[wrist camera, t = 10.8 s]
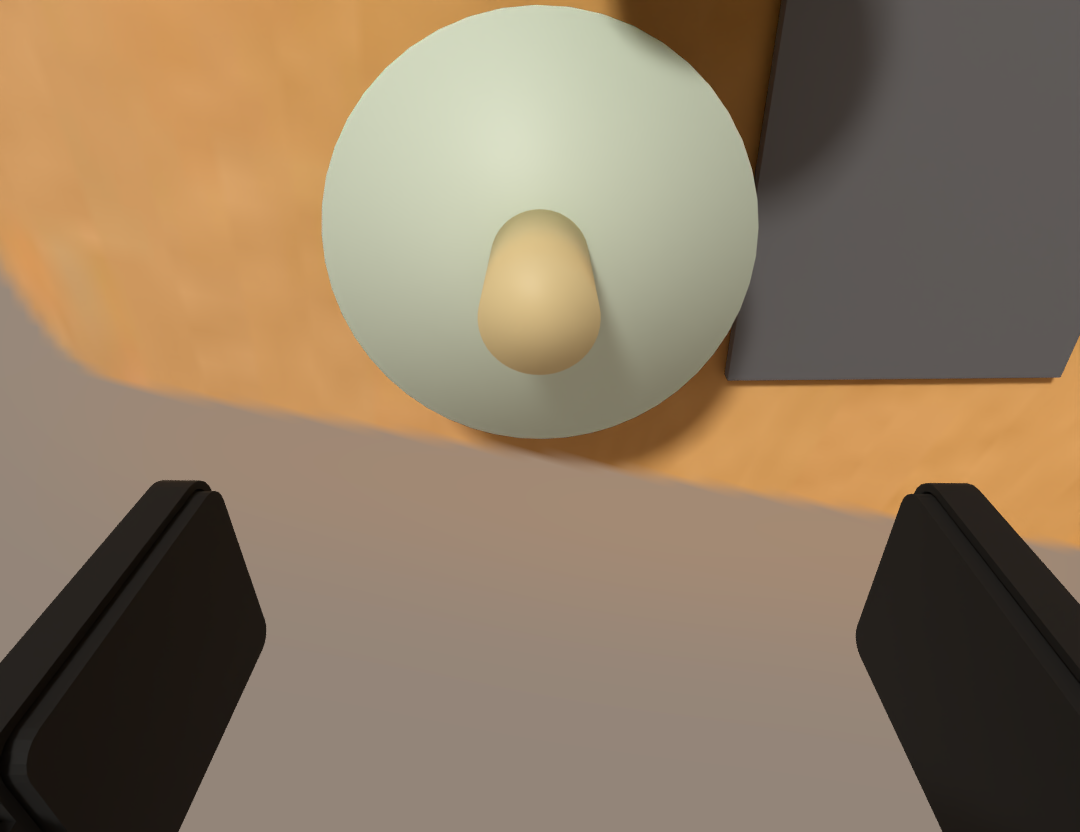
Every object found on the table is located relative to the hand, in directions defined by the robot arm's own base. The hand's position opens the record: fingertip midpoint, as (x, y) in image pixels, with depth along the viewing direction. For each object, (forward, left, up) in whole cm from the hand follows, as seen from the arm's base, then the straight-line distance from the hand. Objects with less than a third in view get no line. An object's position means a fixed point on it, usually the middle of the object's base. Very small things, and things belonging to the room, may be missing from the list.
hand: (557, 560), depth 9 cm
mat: (-16, 0, -20) cm, 25 cm away
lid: (0, 0, -15) cm, 15 cm away
